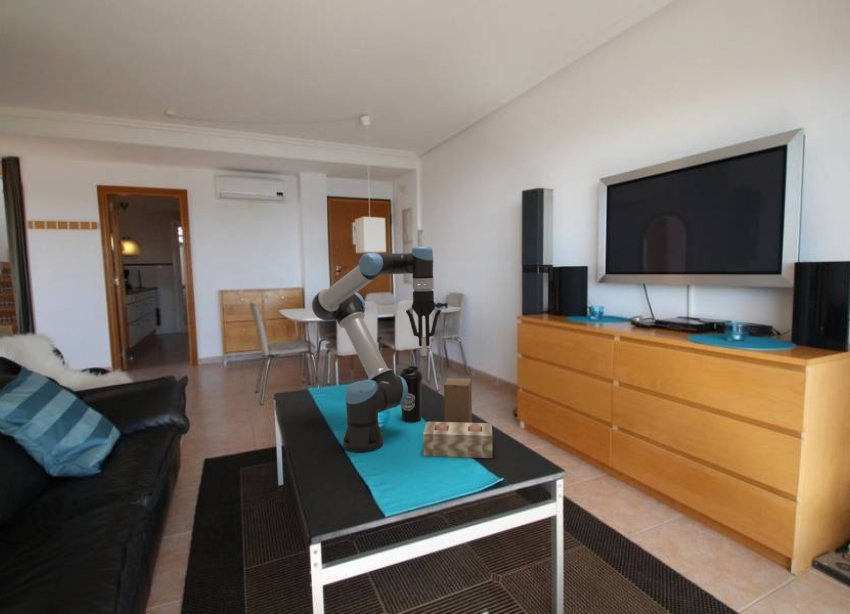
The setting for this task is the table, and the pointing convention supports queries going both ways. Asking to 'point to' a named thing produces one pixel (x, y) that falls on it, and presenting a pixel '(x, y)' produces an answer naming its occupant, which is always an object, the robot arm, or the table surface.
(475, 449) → the socket board
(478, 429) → the peg
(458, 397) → the wooden block
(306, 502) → the table surface
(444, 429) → the peg
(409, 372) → the water bottle
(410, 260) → the robot arm
